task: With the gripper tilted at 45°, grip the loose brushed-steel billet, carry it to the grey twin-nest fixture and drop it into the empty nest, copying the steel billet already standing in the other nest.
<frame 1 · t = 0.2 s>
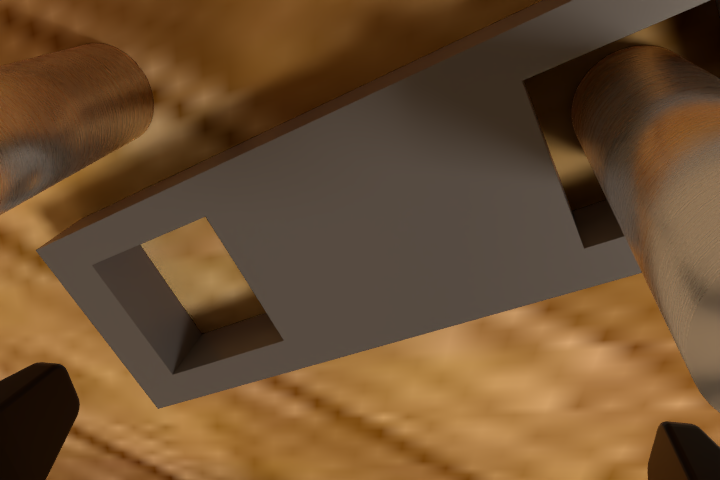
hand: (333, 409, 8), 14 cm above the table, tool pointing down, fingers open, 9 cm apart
twin nest fixture: (395, 198, 22), on the table
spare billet: (107, 94, 23), on the table
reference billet: (633, 106, 19), resting in twin nest fixture
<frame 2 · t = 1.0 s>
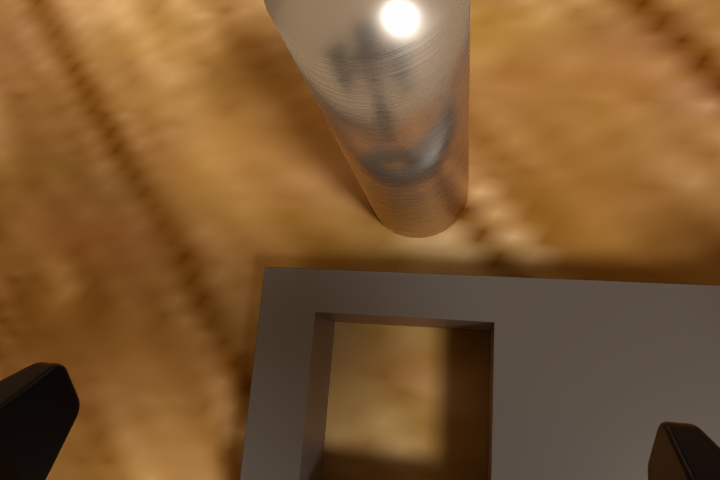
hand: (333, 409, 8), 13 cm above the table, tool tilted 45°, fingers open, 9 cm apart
twin nest fixture: (669, 430, 19), on the table
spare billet: (418, 190, 23), on the table
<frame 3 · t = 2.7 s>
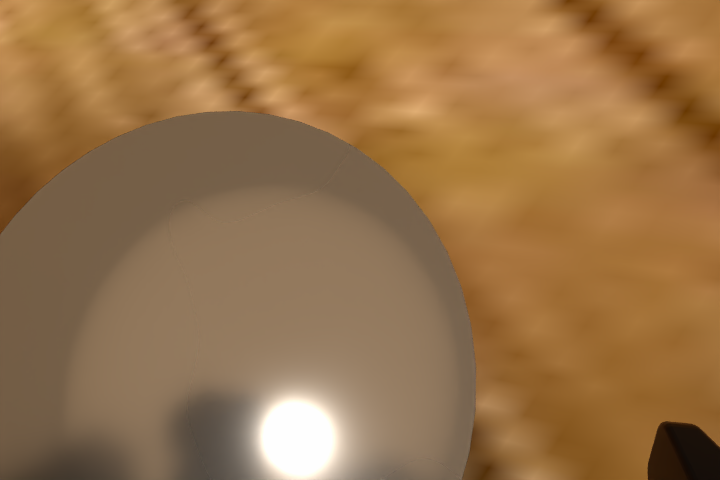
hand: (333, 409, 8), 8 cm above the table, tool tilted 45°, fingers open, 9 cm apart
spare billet: (397, 395, 16), on the table
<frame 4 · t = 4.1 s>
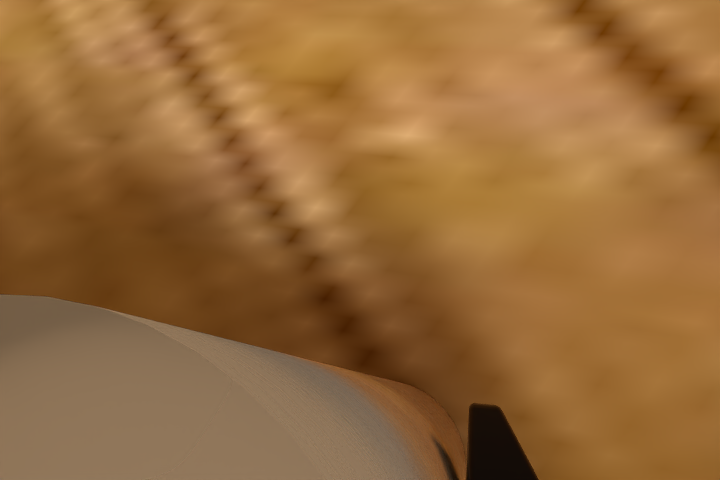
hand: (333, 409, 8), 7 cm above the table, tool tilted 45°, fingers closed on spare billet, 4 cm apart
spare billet: (385, 462, 14), on the table, touching gripper
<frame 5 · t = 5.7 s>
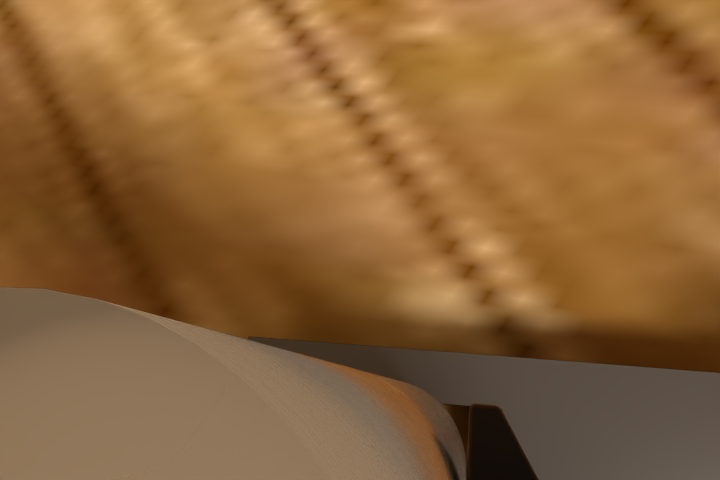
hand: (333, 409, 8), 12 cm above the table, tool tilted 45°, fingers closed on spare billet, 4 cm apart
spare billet: (385, 460, 14), point 5 cm above the table, touching gripper
when the fingers open (8 cm above the table, at t = 7.3 s): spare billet drops 1 cm, resting in twin nest fixture.
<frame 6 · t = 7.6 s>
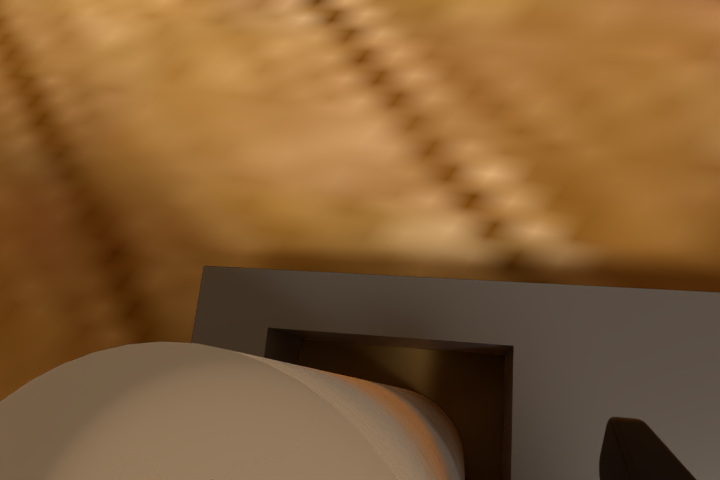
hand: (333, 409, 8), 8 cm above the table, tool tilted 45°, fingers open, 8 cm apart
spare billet: (391, 461, 16), resting in twin nest fixture
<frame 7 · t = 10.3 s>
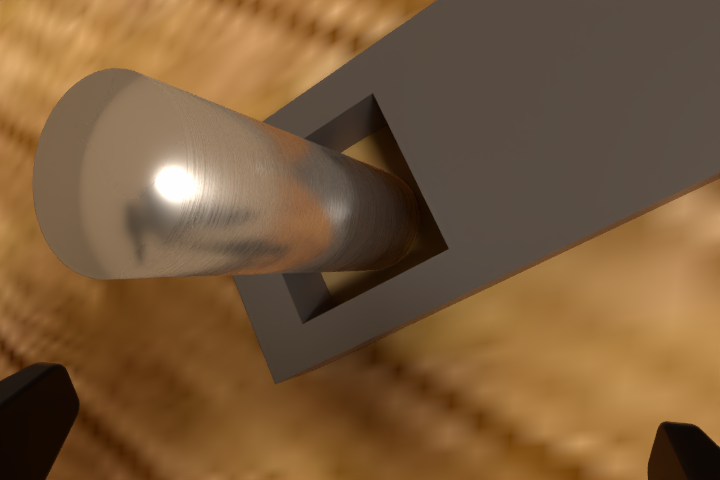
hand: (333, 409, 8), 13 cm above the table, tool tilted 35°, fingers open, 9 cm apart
twin nest fixture: (586, 94, 19), on the table
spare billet: (372, 220, 23), resting in twin nest fixture
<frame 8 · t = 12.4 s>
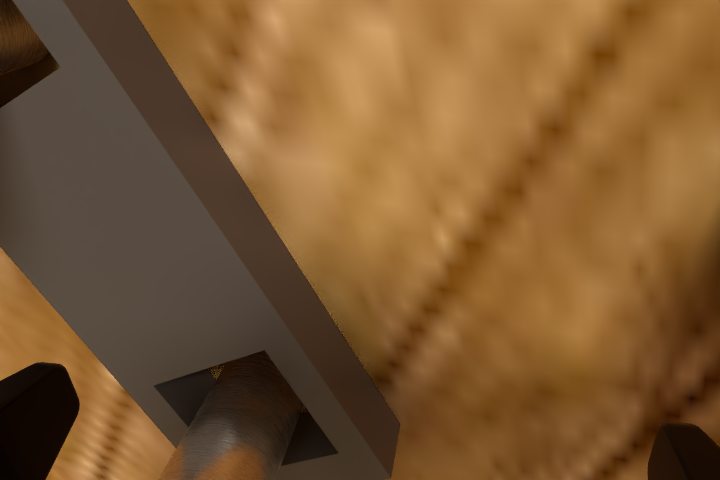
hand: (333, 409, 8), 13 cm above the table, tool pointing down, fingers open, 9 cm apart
twin nest fixture: (154, 214, 24), on the table
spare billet: (271, 370, 27), resting in twin nest fixture
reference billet: (3, 8, 20), resting in twin nest fixture
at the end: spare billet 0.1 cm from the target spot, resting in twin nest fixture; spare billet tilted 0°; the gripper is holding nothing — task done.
